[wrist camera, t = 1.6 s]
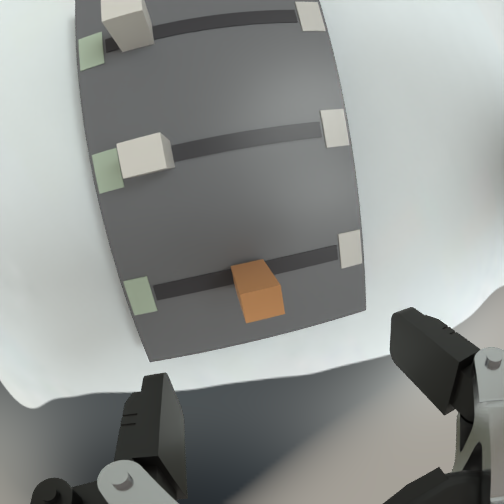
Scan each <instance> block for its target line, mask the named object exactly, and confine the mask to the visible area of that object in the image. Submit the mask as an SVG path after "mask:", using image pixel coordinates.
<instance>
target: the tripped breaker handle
mask: <svg viewBox="0 0 504 504" xmlns="http://www.w3.org/2000/svg"><path fill="white" fill-rule="evenodd" d="M231 270H232V275H233V280H234V285H235V289H236V293H237V296H238V299H239V302H240V306H241V309H242V312H243V315H244V318H245V322H246V323H250V322H254V321H258V320H263V319H267V318H271V317H275V316H279V315H283V314H285V310H284V303H283V297H282V290H281V285H280V283H279V282H278V280H277V279H276V277H275V276H274V275H273V273H272V272H271V270H270V269H269V267H268V266H267V264H266V263H265V261H264V260H263V259H260V260H256V261H252V262H247V263H243V264H238V265H233V266H231Z"/></svg>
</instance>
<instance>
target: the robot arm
mask: <svg viewBox="0 0 504 504" xmlns="http://www.w3.org/2000/svg"><path fill="white" fill-rule="evenodd" d="M390 354H391V357H392V359H393V361H394V363H395V364H396V365H397V366H398V367H399V368H400V369H401V370H402V371H403V372H404V373H405V374H406V375H407V377H408V378H409V379H410V380H411V381H412V382H413V383H414V384H415V385H416V386H417V387H418V388H419V389H420V390H421V391H422V392H423V393H424V394H425V395H426V396H427V398H428V399H429V400H430V401H431V402H432V403H433V404H434V405H435V406H436V407H437V408H438V409H439V410H440V411H441V412H442V413H443V415H446V414H448V413H449V412H451V411H453V410H454V409H456V410H457V411H458V415H457V423H456V453H455V462H454V466H453V469H452V472H451V473H447V474H444V473H443V472H442V470H441V469H440V468H439V467H438V468H436V469H435V470H433V471H431V472H429V473H428V474H426V475H424V476H422V477H421V478H419V479H417V480H415V481H413V482H411V483H409V484H407V485H406V486H405V487H404V488H403V489H401V490H400V491H399V492H397V493H396V494H395V495H394V496H392V497H391V498H390V499H388V500H387V501H386V502H385V503H383V504H504V350H502V349H500V348H495V347H488V348H484V349H481V350H480V349H479V348H478V347H476V346H475V345H474V344H472V343H471V342H470V341H468V340H467V339H465V338H464V337H463V336H461V335H460V334H458V333H457V332H456V333H455V331H454V330H453V329H451V328H450V327H448V326H447V325H446V324H444V323H443V322H442V321H440V320H439V319H436V318H433V317H430V316H427V315H423V314H422V313H420V312H419V311H418V310H416V309H415V308H413V307H410V308H407V309H404V310H401V311H399V312H396V313H394V314H393V315H392V318H391V336H390ZM184 428H185V427H184V416H183V412H182V408H181V406H180V403H179V401H178V398H177V396H176V393H175V391H174V389H173V386H172V384H171V381H170V379H169V377H168V375H167V373H160V374H154V375H148V376H144V378H143V383H142V388H141V392H134V393H132V394H131V396H130V397H129V398H128V400H127V401H126V403H125V405H124V410H123V417H122V420H121V427H120V430H119V435H118V441H117V446H116V452H115V458H114V462H113V463H111V464H109V465H107V466H106V467H105V468H104V469H103V470H102V471H101V472H100V474H99V476H98V480H97V481H94V482H91V483H87V484H83V485H79V486H75V487H71V486H70V485H69V484H68V483H67V482H66V481H64V480H62V479H59V478H49V479H46V480H44V481H43V482H41V483H39V484H38V485H37V487H36V488H35V490H34V492H33V495H32V499H31V503H30V504H179V503H177V499H187V498H188V496H187V479H186V460H185V431H184V430H185V429H184Z"/></svg>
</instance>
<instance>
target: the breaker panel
mask: <svg viewBox="0 0 504 504" xmlns="http://www.w3.org/2000/svg"><path fill="white" fill-rule="evenodd" d="M75 24H76V50H77V65H78V77H79V88H80V97H81V105H82V113H83V120H84V127H85V134H86V140H87V146H88V152H89V157H90V163H91V168H92V173H93V178H94V183H95V187H96V192H97V196H98V201H99V205H100V209H101V213H102V217H103V221H104V225H105V229H106V233H107V237H108V240H109V244H110V248H111V251H112V255H113V258H114V262H115V265H116V268H117V272H118V275H119V278H120V281H121V284H122V287H123V290H124V293H125V296H126V299H127V302H128V305H129V308H130V311H131V314H132V317H133V320H134V322H135V325H136V328H137V330H138V333H139V336H140V338H141V341H142V344H143V346H144V349H145V351H146V354H147V356H148V359H149V361H150V362H154V361H160V360H165V359H171V358H176V357H182V356H187V355H192V354H197V353H202V352H207V351H212V350H217V349H221V348H226V347H230V346H235V345H239V344H244V343H248V342H252V341H256V340H261V339H265V338H269V337H273V336H277V335H281V334H284V333H288V332H292V331H296V330H300V329H303V328H307V327H311V326H314V325H318V324H321V323H325V322H328V321H332V320H335V319H338V318H342V317H345V316H348V315H352V314H355V313H358V312H361V311H365V310H366V293H365V270H364V253H363V239H362V227H361V216H360V206H359V197H358V188H357V180H356V172H355V165H354V158H353V151H352V144H351V138H350V132H349V126H348V120H347V115H346V109H345V104H344V99H343V94H342V89H341V84H340V79H339V75H338V70H337V66H336V62H335V57H334V53H333V49H332V45H331V41H330V37H329V33H328V30H327V26H326V22H325V19H324V15H323V12H322V8H321V5H320V2H319V0H75ZM260 259H263V260H264V261H265V263H266V264H267V266H268V267H269V269H270V270H271V272H272V273H273V275H274V276H275V277H276V279H277V280H278V282H279V283H280V285H281V290H282V297H283V303H284V310H285V314H283V315H279V316H275V317H271V318H267V319H263V320H258V321H254V322H250V323H246V322H245V318H244V315H243V312H242V309H241V306H240V302H239V299H238V296H237V293H236V289H235V285H234V280H233V275H232V270H231V266H233V265H238V264H243V263H247V262H252V261H256V260H260Z"/></svg>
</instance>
